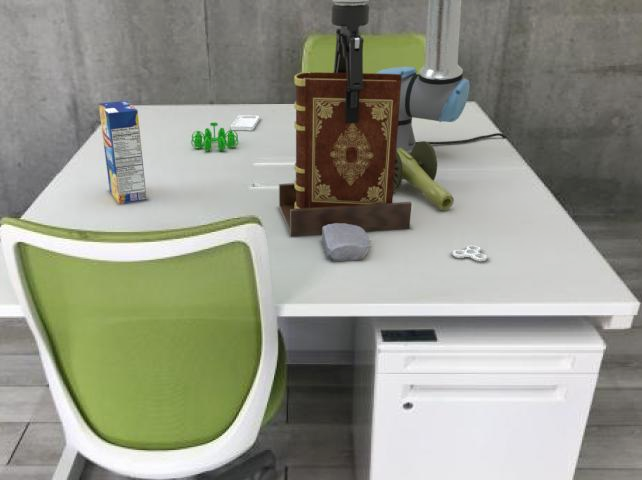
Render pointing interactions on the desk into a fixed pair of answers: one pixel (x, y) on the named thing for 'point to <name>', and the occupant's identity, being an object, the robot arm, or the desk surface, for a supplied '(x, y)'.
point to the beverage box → (123, 151)
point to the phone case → (245, 123)
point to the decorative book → (345, 140)
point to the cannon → (421, 173)
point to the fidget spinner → (470, 253)
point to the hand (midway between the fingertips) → (346, 117)
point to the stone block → (345, 242)
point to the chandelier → (214, 139)
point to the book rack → (341, 215)
